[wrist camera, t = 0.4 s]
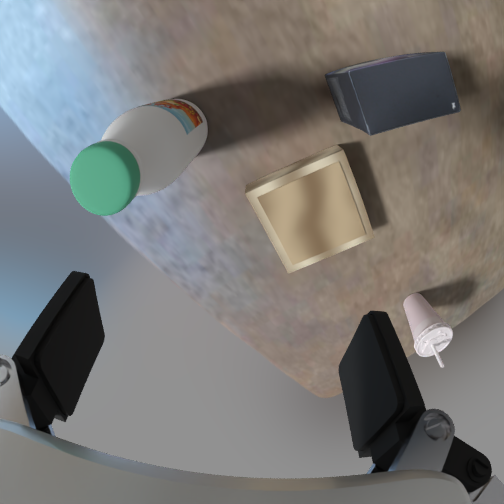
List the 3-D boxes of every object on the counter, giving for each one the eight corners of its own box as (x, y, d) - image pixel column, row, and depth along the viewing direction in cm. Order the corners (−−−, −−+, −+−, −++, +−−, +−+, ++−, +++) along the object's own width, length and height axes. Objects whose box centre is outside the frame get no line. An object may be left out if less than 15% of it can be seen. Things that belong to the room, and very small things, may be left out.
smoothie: (389, 303, 46) (419, 369, 34) (420, 279, 44) (458, 341, 32) (406, 321, 49) (434, 383, 37) (434, 299, 46) (469, 359, 34)
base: (336, 144, 34) (343, 150, 32) (367, 226, 40) (375, 237, 37) (246, 185, 37) (245, 194, 35) (286, 261, 43) (288, 274, 40)
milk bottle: (221, 139, 34) (183, 201, 17) (168, 172, 36) (96, 258, 19) (186, 85, 31) (109, 92, 14) (134, 122, 33) (31, 169, 16)
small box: (401, 53, 28) (447, 48, 19) (416, 102, 31) (464, 113, 22) (321, 72, 30) (347, 68, 21) (340, 123, 33) (370, 139, 24)
